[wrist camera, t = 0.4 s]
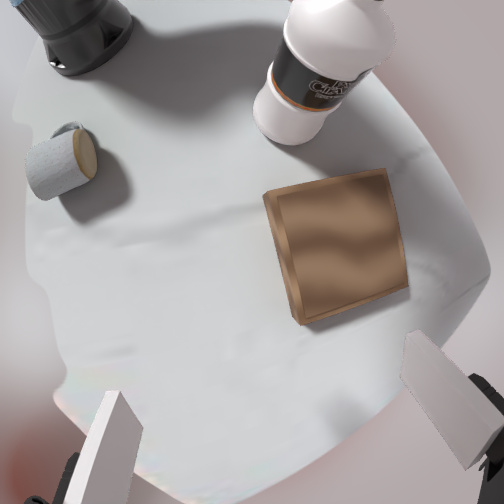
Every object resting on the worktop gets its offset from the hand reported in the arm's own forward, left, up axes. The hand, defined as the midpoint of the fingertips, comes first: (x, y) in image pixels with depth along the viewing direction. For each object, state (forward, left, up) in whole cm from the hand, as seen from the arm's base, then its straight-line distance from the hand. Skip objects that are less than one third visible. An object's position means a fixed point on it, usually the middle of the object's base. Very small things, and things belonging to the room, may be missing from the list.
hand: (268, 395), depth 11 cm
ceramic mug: (-23, -18, -25) cm, 38 cm away
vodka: (-20, +12, -25) cm, 34 cm away
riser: (-2, +14, -25) cm, 29 cm away
